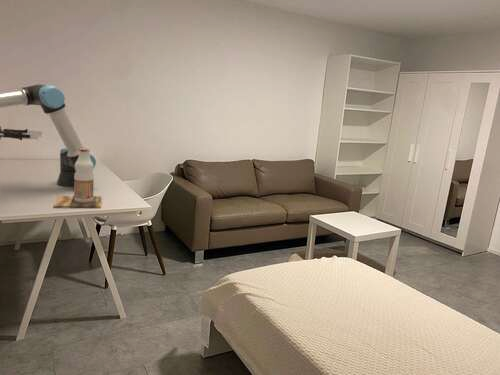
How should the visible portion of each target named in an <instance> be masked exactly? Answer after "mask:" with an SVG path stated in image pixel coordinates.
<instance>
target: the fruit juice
mask: <svg viewBox="0 0 500 375" xmlns="http://www.w3.org/2000/svg"><path fill="white" fill-rule="evenodd" d="M79 152H80V154H79V157H78V160H77V161H76V163H75V170H76V172H75V175H74V186H73V187H74V189H73V192H74V193H73V196H74V200H75V201H76V202H79V203H88V202H92V201H93V196H94V183H95V182H94V181H95V180H94V178H95V177H94V176H95V175H94V173H93V170H94V169H93V167H94V166H93V163H92V161H91V159H90V156H89V154H90V149H89V148H87V149H79ZM94 168H95V167H94Z"/></svg>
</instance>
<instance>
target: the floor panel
mask: <svg viewBox="0 0 500 375" xmlns="http://www.w3.org/2000/svg"><path fill="white" fill-rule="evenodd" d="M101 208H102V196H101V195H99V196H95V195H93V201H92V202H88V203H79V202H76V201H75V200H74V195H58V196H57V197H56V199H55V201H54V203H53V209H101Z"/></svg>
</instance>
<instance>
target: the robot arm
mask: <svg viewBox="0 0 500 375" xmlns="http://www.w3.org/2000/svg"><path fill="white" fill-rule="evenodd" d="M65 100H66V99H65V94H64V92H63V91H62V90H61V88H59V87H56V86H54V85H51V84H39V83H38V84H35V85H33V84H32V85H29V86H25V87H19V88H18V89H17V90H11V91H4V92H3V91H2V92H0V109H1V108H6V107H13V106H20V105H22V106H39V107H41V109H42V111H43V113H44V114H46V115H48V116H49V118H50V120H51V122H52V124H53V126H54V127H55V129H56V131H57V133H58V135H59V137H60V139H61V141H62V142H63V144H64V146H65V148H60V151H59V152H60V153H59V160H60V161H59V163H60V164H59V165H60V166H59V170H60V171H59V175H58V178H57V180H56V184H57V185H59V186H62V187H74V175H75V172H76V170H75V163H76V161H77V160H78V157H79V154H80V152H79V149H88V148H87V147H86V146H84V145H83V143H82V142H81V139H80V138H79V136H78V134H77V131H76V130H75V128H74V126H73V124H72V122H71V120H70V118H69V116H68V113H67V112H66V110H65V109H66V107H67V106H66V103H65ZM40 137H41V138H42V137H43V131H41V130H40V131H39V130H30V129H29V130H28V128H26V129H13V128H12V129H11V128H4V129H2V126H0V140H1V139H2V138H8V139H17V140H19V141H22V140H35V141H36V140H37V141H38V140H39V138H40ZM89 156H90V159H91V161H92V163H93V166H94V167H93V170H94V169H95V167H96V165H97V160H96V157H95V156H94V155H93V154H90V153H89Z"/></svg>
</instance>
